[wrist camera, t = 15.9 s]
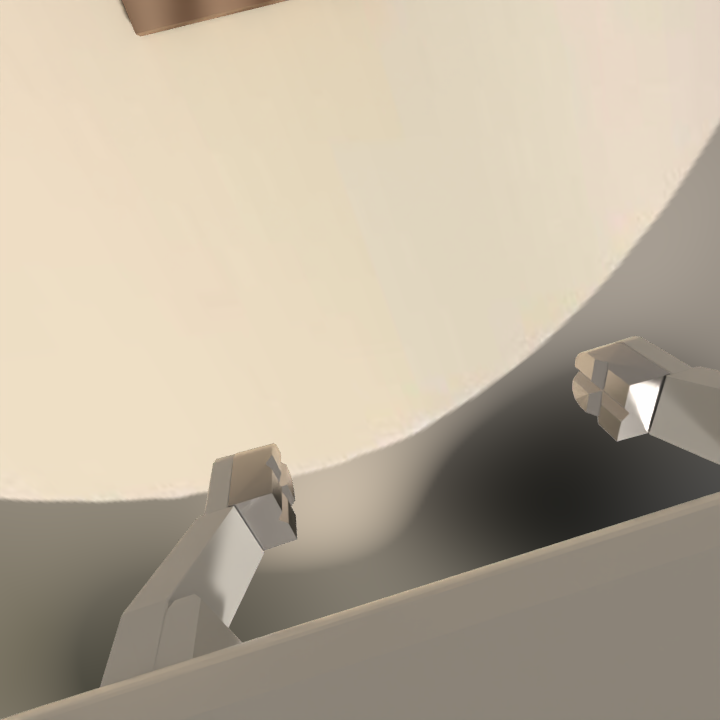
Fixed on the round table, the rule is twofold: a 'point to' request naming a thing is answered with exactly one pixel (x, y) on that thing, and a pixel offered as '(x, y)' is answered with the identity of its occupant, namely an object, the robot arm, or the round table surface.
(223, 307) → the round table surface
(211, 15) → the board
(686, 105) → the round table surface
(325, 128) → the round table surface
